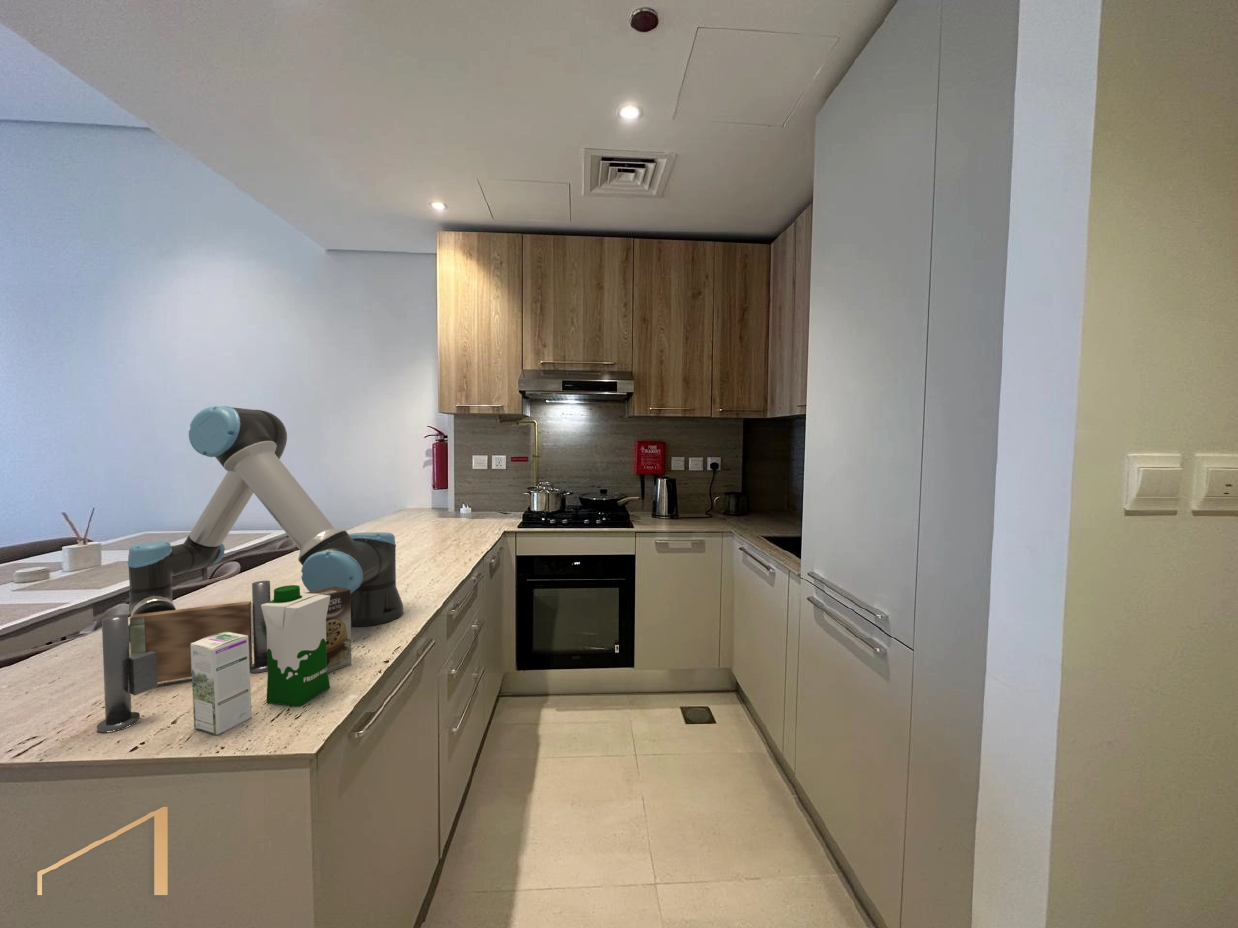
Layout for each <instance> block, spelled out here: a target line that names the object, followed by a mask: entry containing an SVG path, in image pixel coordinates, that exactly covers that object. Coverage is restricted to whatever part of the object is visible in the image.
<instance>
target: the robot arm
mask: <svg viewBox="0 0 1238 928" xmlns="http://www.w3.org/2000/svg"><path fill="white" fill-rule="evenodd" d="M189 425H190V426H189V427H190V429H189V430H188V441H189V443H190V445H191V446H192V448H193V449H194V451H195V452H196V453H198V454H200V455H202V456H205V457H207V458H209V457H210V458H213V457H214V458H215V459H216V460H217V461H218V462H219V464H220V465H221V466H222V467H223V469H224V470H225V471H227V472H226V473H225V475H224V476H223V479H222V480H221V482H220V484H219V485H218V486H217V489H216V490H215V492H214V494H213V495H212V496H211V498H210V500H209V502H208V503H207V504H206V506H205V508H204V510H203V511H202V513H201V515H200V516H199V518H198V520H197V521H196V523H195V524H194V526H193V527H192V529H191V531H190V532H189V534H188V535H187V536H186V537H187V538H186V539H185V540H184V542H183V543H181V544H176V545H172V544H171V543H170V542H168V541H164V540H162V541H158V540H157V541H148V542H142V543H136V544H134V545H132V546H130V548H129V550H128V555H127V556H128V557H127V559H128V560H127V566H128V581H129V583H128V584H129V590H128V591H129V594H128V595H129V603H128V612H129V614H130V617H132V616H133V615H136V614H144V613H153V612H161V611H170V610H177V608H176V607H175V604H174V601H173V577H175V576H177V575H181V574H184V573H188V572H192V571H195V570H199V569H200V570H201V569H204V568H207V567H210V566H212V565H215V564H217V563H219V562H220V561H221V560H222V559H223V558H224V556H225V550H226V548H225V545H224V542H225V540H226V538H227V536H228V534H229V533H230V531H231V530H232V529H233V528H234V527H233V526H234V525H235V524H236V522H237V521H238V519H239V517H240V516H241V513H242V512H243V510H244V509H245V507H246V506H247V504H248V502H250V499H251V497H252V496H253V495H255V496H256V498H257V499H258V500H259V501H260V503H261V504H262V505H263V506H264V508H265V509H266V510H267V512H269V514H270V515H271V516H272V518H273V519H274V520H275V521H276V522H277V523H278V526H280V527H281V529H282V530H283V531H284V532H285V534H287V536H288V537H289V538H290V540H291V541H292V542H293V543H294V545H295V546H296V547H297V549H298V550H299V555H298V559H297V560H298V562H299V563H300V564H301V566H302V567H301V570H300V571H301V577H300V578H301V581H302V584H303V586H304V587H305V588H306V589H307V591H308V592H311V591H315V590H320V589H324V588H329V587H333V586H337V587H341V588H346V589H349V590H351V591H350V595H351V627H368V626H375V625H380V624H385V623H389V622H391V621H394V620H397V619H399V618H400V617H401V616H402V615H404V603H403V601H402V597H401V595H400V594H399V590H398V587H397V582H396V581H397V576H396V575H397V572H396V571H397V570H396V567H397V566H396V565H397V564H396V561H397V560H396V556H397V555H396V551H397V549H396V548H397V544H396V539H395V538H396V537H395V535H394V534H393V533H392V532H387V531H386V532H383V531H382V532H380V531H379V532H378V531H377V532H373V531H372V532H370V531H369V532H351V533H348V532H347V531H346V529H338V528H336V527H334V526H333V524H332V523H331V522H330V520H329V519H328V518H327V517H326V515H325V514H324V513H323V512H322V510H321V509H320V508H319V507H318V506H317V504H316V503H315V502H314V500H313V499H312V498H311V497H310V495H308V493H307V492H306V490H305V489H304V488H303V487H302V486H301V484H300V483H299V482H298V481H297V479H296V478H295V476H293V474H292V473H291V472H290V471H289V469H288V468H287V467H286V466H285V465H284V463H283V462H282V461H281V460H280V459H281V458H282V456H283V454H284V451H285V449H286V445H287V441H288V433H287V429H286V426H285V425H284V423H283V422H282V420H281V419H280V418H279V417H278V416H276V415H275V414H274V413H271V412H269V411H266V410H263V409H252V408H251V409H249V408H240V407H233V406H228V405H222V406H221V405H220V406H217V405H215V406H209V407H206V408H204V409H202V410H200V411H199V412H197V414H195V416H193V418H192V420H191V422H190V424H189ZM128 630H129V644H131V635H130V623H128Z"/></svg>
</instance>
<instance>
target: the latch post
mask: <svg viewBox="0 0 1238 928" xmlns="http://www.w3.org/2000/svg"><path fill="white" fill-rule="evenodd" d="M128 625H129V614H125V613H124V614H123V613H122V614H115V615H110V616H106V617H104V618H102V619H101V634H102V636H101V637H102V639H101V640H102V657H103V658H102V661H103V664H102V665H103V686H104V687H103V689H104V693H103V694H104V715H105V719H103V720H101V721H100V722H99V723H97V725H96V732H97V731H99V732H107V731H113V730H118V729H122V728H125V727H127V726H129V725H132V724H134V723H135V724H137V723H138V722H139V721H140V720H141V714H140V712H137V711H132V697H131V696H132V695H133V696H137V695H139V694H142V693H146V692H147V691H151V690H153V689H156V688H158V686H159V684H158V682H157V654H156V652H153V651H150V652H147V653H143V654H140V655H137V656H133V657H131V656H130V642H129V630H128ZM139 719H140V720H139ZM138 720H139V721H138ZM137 721H138V722H137ZM136 722H137V723H136ZM135 724H134V725H135ZM132 726H133V725H132ZM127 728H128V727H127ZM125 729H126V728H125ZM122 730H123V729H122Z"/></svg>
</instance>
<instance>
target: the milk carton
mask: <svg viewBox="0 0 1238 928" xmlns="http://www.w3.org/2000/svg"><path fill="white" fill-rule="evenodd" d="M300 588H301V587H300V585H297V584H296V585H295V584H293V585H292V584H291V585H284V586H278V587H276V588H274V589H273V599H272V600H270V602H267V603H265V604H262V605H261V608H262V612H263V616H264V620H265V624H266V629H267V664H268V671H267V684H266V701H265V702H266V703H270V704H278V705H284V706H285V705H286V706H291V707H301V706H303V705H304V704H305V703H307V702H309V701H311V700H312V699H314V698H315V697H317V696H319V695H321V694H322V693H324V692H325V691H326V690H328V689H330V688H331V686H330V678H329V672H328V669H327V650H326V616H327V611H328V605H329V600H330V595H320V594H309V593H306V592H301V589H300Z"/></svg>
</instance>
